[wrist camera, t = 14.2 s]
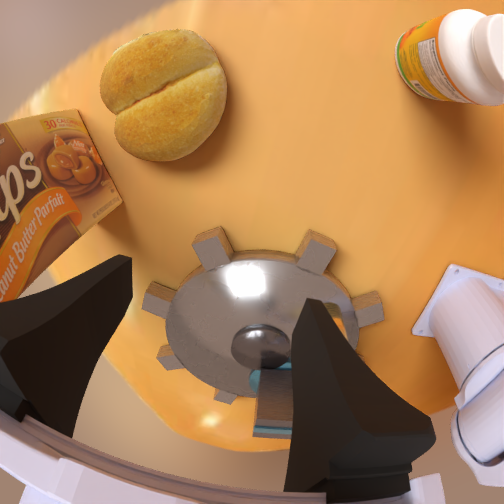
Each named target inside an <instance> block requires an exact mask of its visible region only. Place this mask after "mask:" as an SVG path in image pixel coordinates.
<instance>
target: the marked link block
mask: <svg viewBox="0 0 504 504" xmlns="http://www.w3.org/2000/svg"><path fill="white" fill-rule="evenodd" d="M292 423H293V386H292V371H288V370H274V369H263V368H261V371H260V376H259V382H258V388H257V394H256V405H255V416H254V426H253V436H252V437H263V438H278V439H291V435H292Z"/></svg>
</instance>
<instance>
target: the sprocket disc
mask: <svg viewBox="0 0 504 504" xmlns="http://www.w3.org/2000/svg"><path fill="white" fill-rule="evenodd" d="M192 246H193V248H194V250H195V252H196V254H197V256H198V257H199V259H200V261H201V263H202V265H201V266H199V267H198V268H196V269H195V270H194V271H193V272H191V273H190V274H189V275H188V276H187V277H186V278H185V279H184V280H183V282H182V283H181V285H180V286H179V288H178V289H177V291H174V290H172V289H169V288H167V287H165V286H162V285H160V284H157V283H155V282H153V281H152V282H151V284H150V285H149V287H148V289H147V290H146V292H145V296H144V300H143V305H142V309H143V310H145V311H148V312H150V313H152V314H155V315H157V316H159V317H162V318H164V319H166V334H167V339H168V342H169V345H166V346H161V347H160V350H159V352H158V355H157V357H156V358H157V359H158V360H159V362H160V363H161V364H162V365H163V366H164V368H165V369H166V370H174V369H181V368H186V369H187V370H188V371H189V372H190V373H192V374H193V375H194V376H196V377H197V378H198V379H200V380H201V381H203V382H205V383H207V384H208V385H210V386H212V387H215V388H216V389H215V394H214V400H217V401H220V402H224V403H227V404H230V405H231V403H232V402H233V401H234V400H235V398H236V397H237V396H238V395H239V396H245V397H252V398H256V394H257V388H258V382H259V376H260V371H261V368H263V369H274V370H288V371H292V370H291V341H292V333H293V330H294V328H295V325H296V323H297V321H298V318H299V316H300V313H301V311H302V308H303V306H304V303H305V301H306V298H311V299H316V300H321V301H322V302H323V304H324V305H325V307H326V309H327V310H328V312H329V313H330V315H331V317H332V318H333V320H334V321H335V323H336V325H337V326H338V328H339V329H340V331H341V332H342V334H343V335H344V337H345V338H346V339H347V341H348V342H349V344H350V345H351V346H352V348H353V349H354V350H355V349H356V347H357V343H358V339H359V328H361V327H364V326H367V325H370V324H373V323H376V322H379V321H383V320H384V314H383V307H382V302H381V300H380V297H379V295H378V293H377V291H374V292H371V293H368V294H365V295H362V296H358V297H355V298H352V299H351V297H350V295H349V294H348V292H347V290H346V288H345V287H344V286H343V285H342V283H341V282H340V281H339V280H338V279H337V278H336V277H335V276H334V275H333V274H332V273H331V272H329V271H328V270H326V267H327V265H328V264H329V262H330V260H331V259H332V257H333V256H334V254H335V252H336V251H337V250H336V247H335V244H334V241H333V240H332V239H330V238H328V237H325V236H323V235H321V234H319V233H316V232H314V231H312V230H310V229H309V230H308V232H307V234H306V236H305V237H304V239H303V241H302V243H301V245H300V246H299V248H298V250H297V252H296V254H291V253H286V252H281V251H273V250H246V251H238V252H234V251H233V249H232V247H231V245H230V243H229V241H228V239H227V237H226V235H225V233H224V231H223V229H222V227H221V226H220V227H218V228H215V229H212V230H210V231H207V232H204V233H201V234H199V235H197V236H196V238H195V240H194V242H193V244H192ZM358 356H359V357H360V358H361V359H362V360H363V362H364V363H365V361H364V357H363V356H361V355H358Z"/></svg>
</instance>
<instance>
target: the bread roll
mask: <svg viewBox="0 0 504 504" xmlns="http://www.w3.org/2000/svg"><path fill="white" fill-rule="evenodd" d="M100 94H101V98H102V100H103V102H104V104H105V105H106V107H107V108H108V109H109V110H110V111H111V112H112V113H114V114H116V115H117V116H116V121H115V136H116V139H117V141H118V143H119V144H120V146H121V147H122V148H123V149H124V150H125V151H127V152H128V153H130V154H132V155H133V156H135V157H137V158H140V159H144V160H147V161H172V160H176V159H180V158H182V157H184V156H186V155H188V154H190V153H192V152H193V151H195V150H196V149H197V148H198V147H199V146H200V145H201V144H202V143H203V142H204V141H205V140H206V139H207V138H208V137H209V136H210V135H211V134H212V132H213V131H214V130H215V128H216V127H217V125H218V123H219V122H220V119H221V117H222V114H223V112H224V109H225V103H226V95H227V80H226V76H225V73H224V70H223V68H222V66H221V65H220V63H219V60H218V58H217V55H216V53H215V51H214V49H213V48H212V47H211V46H210V44H209V43H208V42H207V41H206V40H205V39H203V38H202V37H201V36H200V35H198V34H196V33H195V32H193V31H190V30H183V29H180V30H179V29H176V30H165V31H159V32H151V33H148V34H143V35H142V36H140V37H139V38H137V39H134V40H132V41H130V42H128V43H126V44H124V45H122V46H120V47H119V48H118V49H116V50H115V51H114V52H113V55H112V57H111V58H110V59H109V61H108V62H107V64H106V66H105V68H104V70H103V73H102V77H101V81H100Z"/></svg>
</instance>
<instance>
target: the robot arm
mask: <svg viewBox="0 0 504 504" xmlns="http://www.w3.org/2000/svg"><path fill="white" fill-rule="evenodd" d="M456 270H457V271H456ZM455 271H456V272H455ZM132 298H133V288H132V258H131V257H127V256H123V255H117V256H114V257H112V258H110V259H108V260H107V261H105V262H103V263H101V264H99V265H97V266H95V267H93V268H92V269H90V270H88V271H86V272H84V273H82V274H80V275H78V276H76V277H74V278H72V279H70V280H68V281H66V282H64V283H62V284H59V285H57V286H55V287H52V288H50V289H47V290H44V291H42V292H39V293H36V294H32V295H29V296H26V297H23V298H19V299H15V300H10V301H6V302H0V467H1V468H2V469H4V470H5V471H6V472H8V473H9V474H11V475H12V476H13V477H15V478H16V479H18V480H19V481H21V482H23V483H24V484H26V487H25V489H24V492H23V495H22V497H21V500H20V503H19V504H446V503H445V497H444V492H443V487H442V482H441V477H440V474H439V473H433V474H429V475H424V476H419V477H416V478H412V479H410V480H409V476H408V473H410V472H412V465H411V462H413V461H414V460H416V459H417V458H418V457H420V456H421V455H422V454H424V453H425V452H427V451H428V450H429V449H430V448H431V447H432V446H433V445H434V443H435V441H436V435H435V432H434V428H433V425H432V421H431V418H430V417H429V416H427V415H425V414H424V413H422V412H421V411H419V410H418V409H416V408H415V407H413V406H412V405H410V404H409V403H407V402H406V401H405V400H404V399H402V398H401V397H400V396H398V395H397V394H396V393H395V392H394V391H392V390H391V389H390V388H389V387H388V386H387V385H386V384H385V383H384V382H382V381H381V380H380V379H379V378H378V377H377V376H376V375H375V374H374V373H373V372H372V370H371V369H370V368H369V367H368V366H367V365H366V364H365V363H364V362H363V360H362V359H361V358H360V357H359V356H358V354H357V353H356V352H355V350H354V349H353V348H352V346H351V345H350V344H349V342H348V341H347V339H346V338H345V337H344V335H343V334H342V332H341V331H340V329H339V328H338V326H337V325H336V323H335V321H334V320H333V318H332V317H331V315H330V313H329V312H328V310H327V309H326V307H325V305H324V304H323V302H322V301H321V300H316V299H311V298H306V301H305V303H304V306H303V308H302V311H301V313H300V316H299V318H298V321H297V323H296V325H295V328H294V330H293V333H292V341H291V370H292V386H293V423H292V435H291V445H290V453H289V460H288V468H287V474H286V480H285V485H284V491H283V492H277V491H276V492H275V491H263V490H253V489H245V488H237V487H230V486H223V485H218V484H212V483H207V482H201V481H197V480H191V479H187V478H183V477H179V476H175V475H171V474H167V473H164V472H160V471H156V470H153V469H149V468H146V467H143V466H140V465H137V464H134V463H131V462H128V461H125V460H122V459H120V458H117V457H114V456H111V455H109V454H106V453H104V452H101V451H99V450H96V449H94V448H92V447H89V446H87V445H85V444H82V443H80V442H78V441H76V440H74V439H72V437H73V432H74V428H75V424H76V420H77V416H78V413H79V409H80V406H81V403H82V400H83V397H84V394H85V391H86V388H87V385H88V383H89V380H90V378H91V375H92V373H93V370H94V368H95V366H96V363H97V361H98V359H99V357H100V355H101V354H102V352H103V350H104V349H105V347H106V345H107V344H108V342H109V340H110V339H111V337H112V335H113V334H114V332H115V330H116V329H117V327H118V325H119V324H120V322H121V321H122V319H123V317H124V315H125V313H126V311H127V309H128V307H129V304H130V302H131V300H132ZM420 330H421V331H420ZM412 333H413V335H419V336H427V337H435V339H436V341H437V343H438V345H439V347H440V349H441V351H442V353H443V355H444V357H445V359H446V362H447V364H448V366H449V368H450V371H451V373H452V375H453V377H454V380H455V382H456V384H457V387H458V389H459V392H460V393H459V394H458V395H457V396H456V397H455V398H454V400H455V402H456V405H457V409H456V410H455V411H454V413H453V415H452V418H451V429H450V430H451V438H452V442H453V445H454V447H455V449H456V451H457V453H458V455H459V456H460V457H461V458H462V459H463V460H464V461H465V462H466V463H467V464H468V466H469V467H470V468H471V470H472V471H473V473H474V475H475V477H476V478H477V480H478V483H479V484H481V485H486V486H497V487H504V280H503V279H500V278H497V277H493V276H490V275H487V274H484V273H481V272H478V271H475V270H472V269H469V268H465V267H462V266H459V265H456V264H451V265H449V266H448V268H447V270H446V272H445V274H444V275H443V277H442V279H441V281H440V283H439V285H438V286H437V288H436V290H435V292H434V294H433V295H432V297H431V299H430V301H429V302H428V304H427V306H426V307H425V309H424V311H423V312H422V314H421V315H420V317H419V319H418V320H417V322H416V323H415V325H414V327H413V328H412Z"/></svg>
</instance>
